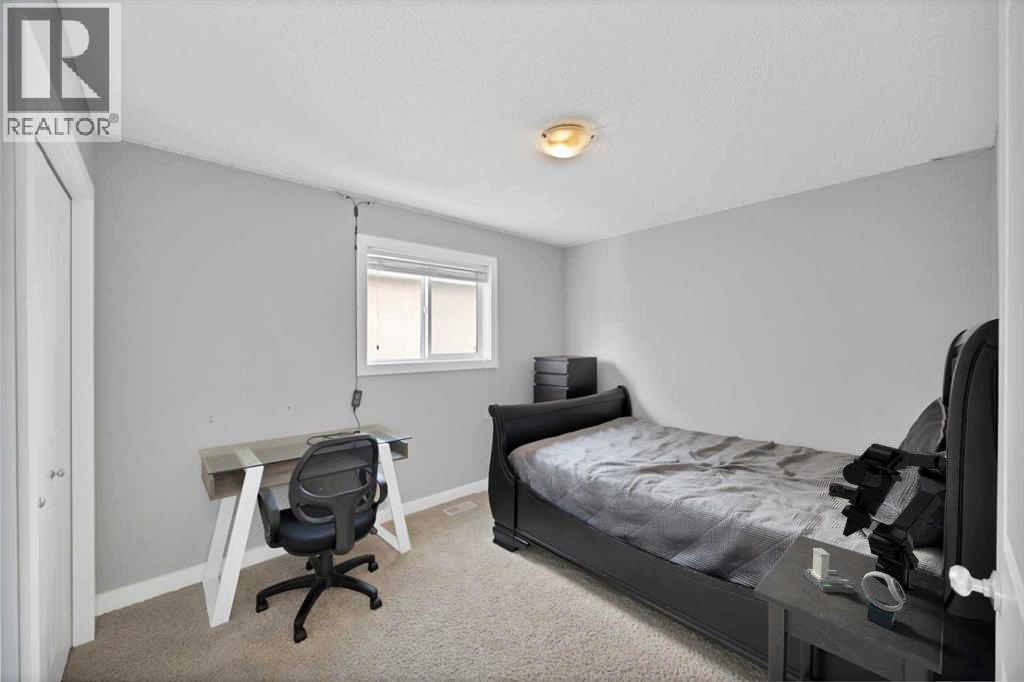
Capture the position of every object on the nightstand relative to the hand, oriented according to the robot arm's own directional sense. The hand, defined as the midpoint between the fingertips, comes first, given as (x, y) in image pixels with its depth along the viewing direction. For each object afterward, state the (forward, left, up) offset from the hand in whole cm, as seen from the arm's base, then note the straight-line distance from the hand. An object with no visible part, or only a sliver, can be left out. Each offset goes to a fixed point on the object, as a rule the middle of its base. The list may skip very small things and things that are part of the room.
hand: (844, 535), depth 117 cm
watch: (+4, +17, -12) cm, 22 cm away
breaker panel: (+7, +3, -12) cm, 14 cm away
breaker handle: (+9, +3, -10) cm, 14 cm away
